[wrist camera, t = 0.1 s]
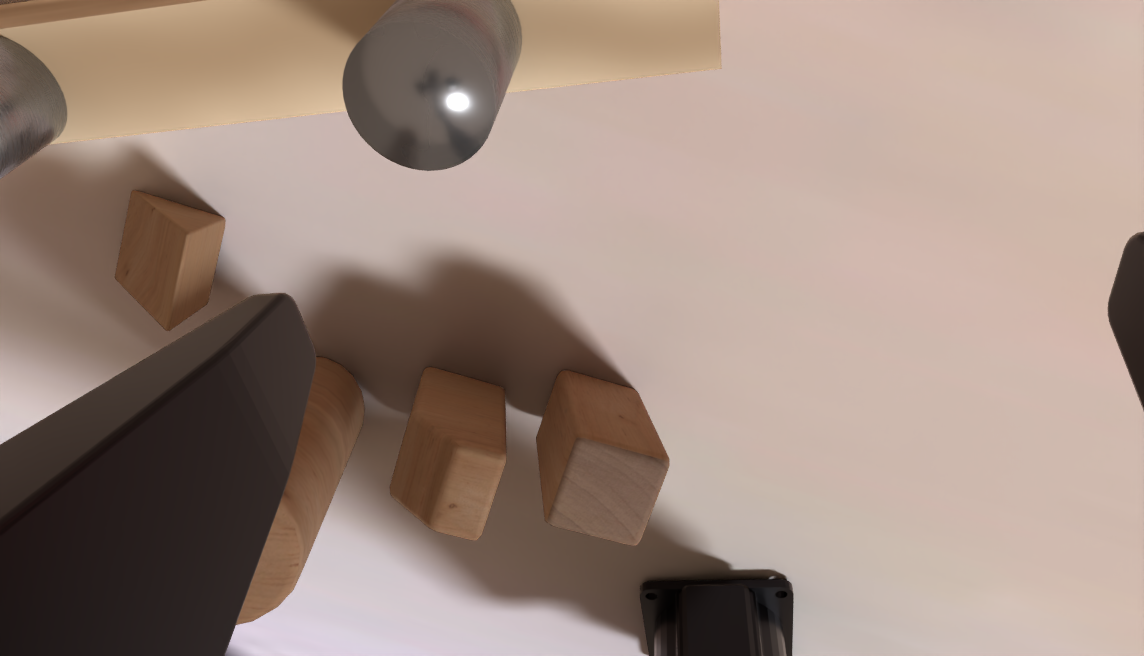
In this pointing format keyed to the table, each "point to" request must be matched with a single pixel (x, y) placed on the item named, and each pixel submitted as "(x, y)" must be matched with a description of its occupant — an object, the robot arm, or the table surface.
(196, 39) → the maple stop rail
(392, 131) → the steel bench dogs
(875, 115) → the table surface
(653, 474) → the wooden block set
